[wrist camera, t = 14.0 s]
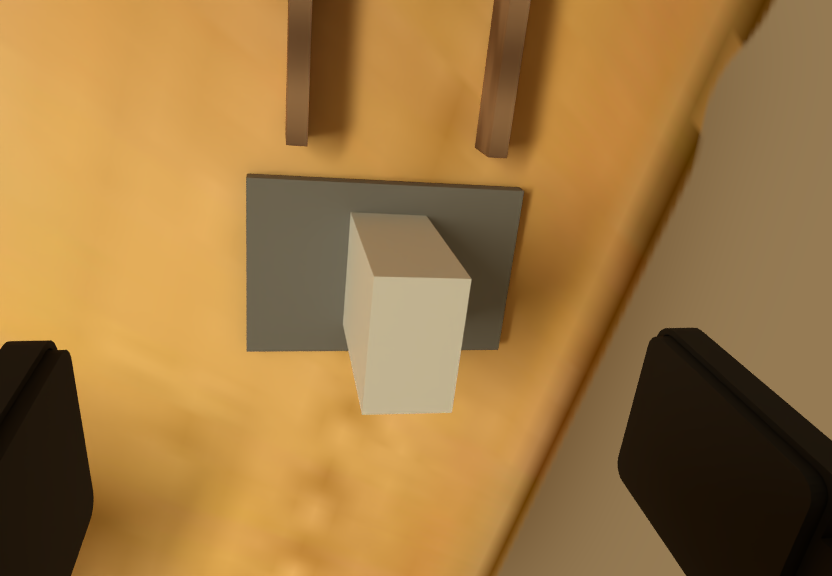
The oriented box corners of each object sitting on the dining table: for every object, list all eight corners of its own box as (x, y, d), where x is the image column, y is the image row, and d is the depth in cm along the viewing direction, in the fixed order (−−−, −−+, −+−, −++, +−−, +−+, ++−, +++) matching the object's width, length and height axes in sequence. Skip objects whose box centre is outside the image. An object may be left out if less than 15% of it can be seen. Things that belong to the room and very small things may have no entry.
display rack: (290, -91, 35) (291, -98, 33) (521, -59, 38) (540, -64, 36) (285, 135, 40) (286, 145, 37) (492, 148, 43) (506, 158, 40)
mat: (247, 173, 41) (246, 177, 40) (519, 187, 44) (524, 191, 44) (247, 344, 45) (246, 351, 44) (494, 343, 49) (498, 349, 48)
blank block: (350, 212, 42) (373, 276, 32) (426, 215, 43) (471, 278, 33) (342, 324, 45) (361, 414, 35) (413, 324, 46) (451, 412, 36)
